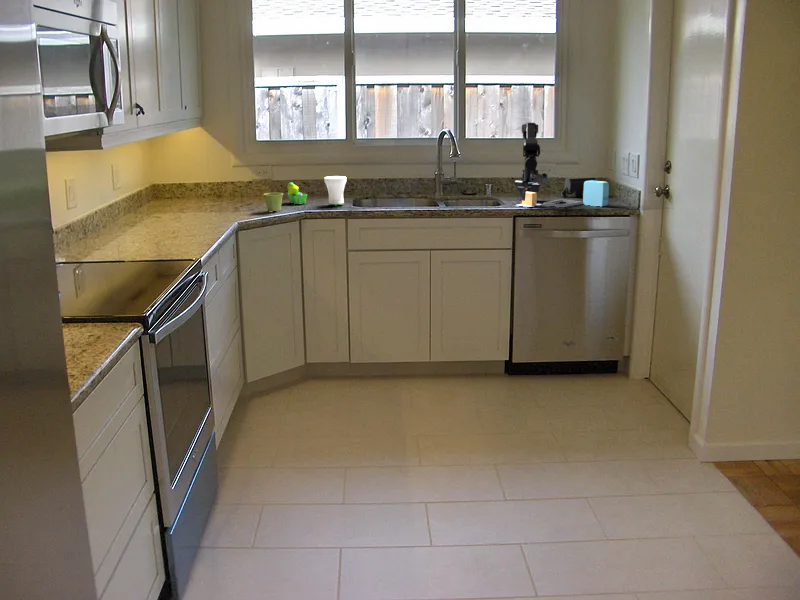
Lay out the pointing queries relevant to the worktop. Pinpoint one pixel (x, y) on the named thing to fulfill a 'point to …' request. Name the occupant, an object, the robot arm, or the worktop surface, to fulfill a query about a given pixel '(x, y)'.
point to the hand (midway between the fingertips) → (529, 199)
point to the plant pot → (273, 201)
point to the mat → (528, 205)
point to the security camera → (575, 186)
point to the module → (530, 199)
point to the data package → (596, 193)
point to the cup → (335, 189)
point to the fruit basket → (296, 194)
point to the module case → (571, 202)
